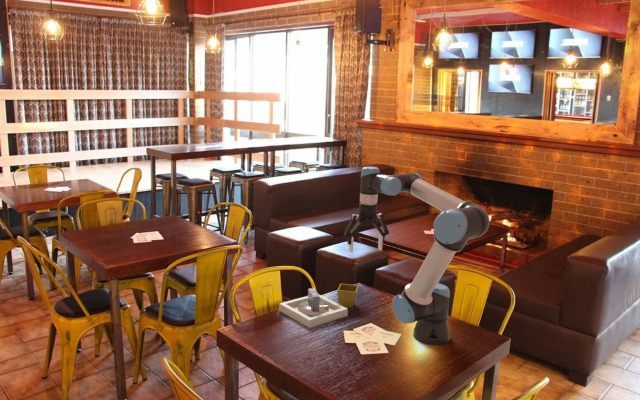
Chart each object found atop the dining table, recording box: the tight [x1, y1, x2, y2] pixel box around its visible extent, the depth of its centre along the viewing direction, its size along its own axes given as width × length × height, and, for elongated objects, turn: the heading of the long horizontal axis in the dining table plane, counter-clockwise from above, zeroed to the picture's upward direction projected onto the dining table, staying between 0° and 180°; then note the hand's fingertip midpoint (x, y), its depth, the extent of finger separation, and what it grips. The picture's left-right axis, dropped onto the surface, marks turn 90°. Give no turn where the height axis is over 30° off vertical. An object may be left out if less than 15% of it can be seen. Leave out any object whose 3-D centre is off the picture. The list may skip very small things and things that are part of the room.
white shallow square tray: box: [278, 294, 349, 329], centre depth 257 cm, size 22×22×4 cm
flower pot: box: [337, 283, 359, 309], centre depth 267 cm, size 9×9×9 cm
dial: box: [298, 288, 329, 317], centre depth 256 cm, size 14×14×8 cm
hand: (365, 250), depth 247 cm, fingers open, 13 cm apart
